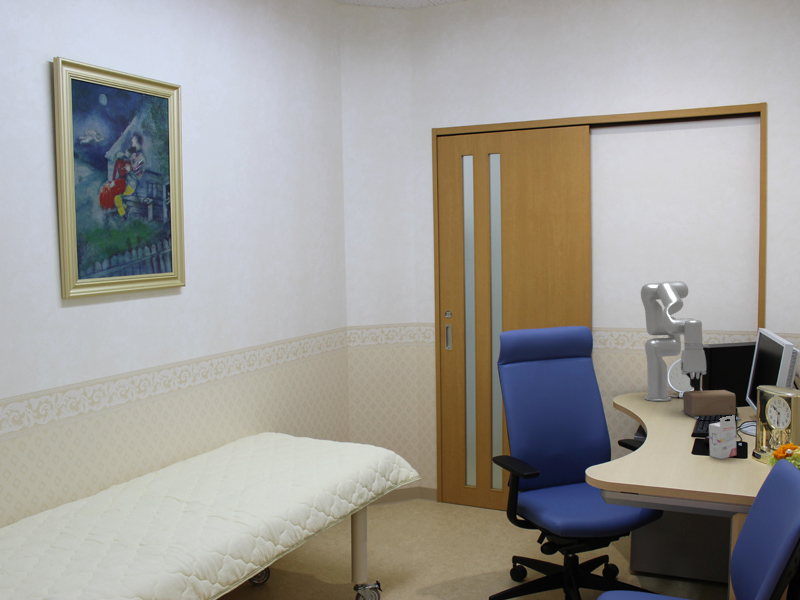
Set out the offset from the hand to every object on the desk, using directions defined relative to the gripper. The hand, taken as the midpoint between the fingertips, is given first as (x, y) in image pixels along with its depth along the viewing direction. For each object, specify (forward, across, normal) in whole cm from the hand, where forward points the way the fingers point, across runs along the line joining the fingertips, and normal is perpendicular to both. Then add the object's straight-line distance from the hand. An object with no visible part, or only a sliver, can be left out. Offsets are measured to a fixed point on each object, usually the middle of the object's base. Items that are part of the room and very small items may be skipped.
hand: (694, 387), depth 304 cm
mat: (+13, -7, 0) cm, 15 cm away
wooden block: (+8, +3, 0) cm, 8 cm away
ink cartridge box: (+13, +14, +66) cm, 69 cm away
